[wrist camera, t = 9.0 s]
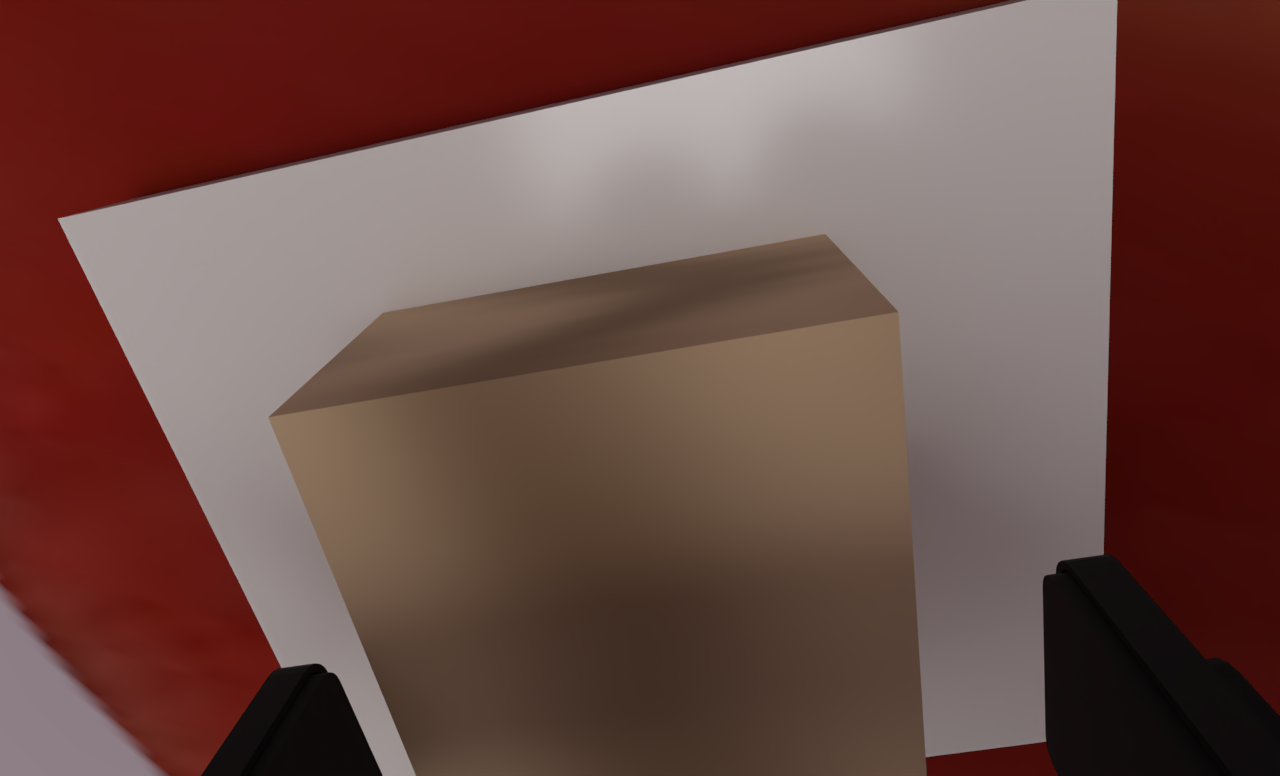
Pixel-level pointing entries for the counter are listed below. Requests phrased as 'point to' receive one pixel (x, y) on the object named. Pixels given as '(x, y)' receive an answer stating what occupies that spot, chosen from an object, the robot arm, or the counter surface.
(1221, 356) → the counter surface
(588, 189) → the serving board
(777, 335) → the wooden block
